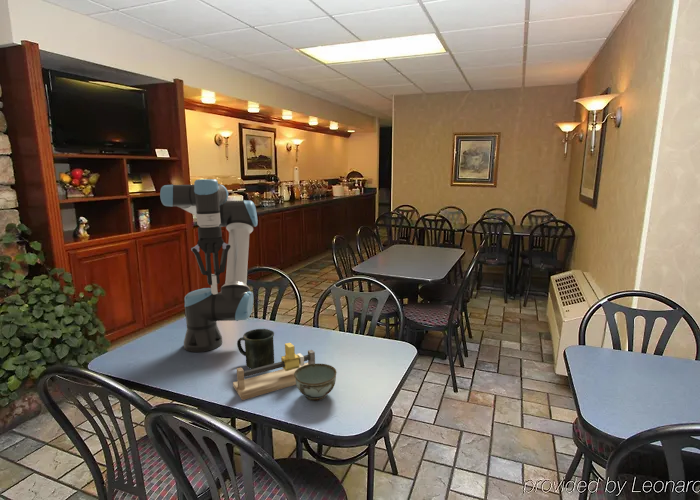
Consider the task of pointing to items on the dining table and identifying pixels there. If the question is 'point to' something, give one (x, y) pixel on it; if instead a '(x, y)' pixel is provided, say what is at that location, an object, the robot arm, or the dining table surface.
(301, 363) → the band
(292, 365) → the sleeve
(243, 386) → the wooden slider rail
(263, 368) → the rod
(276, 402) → the dining table surface
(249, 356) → the mug
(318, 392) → the bowl
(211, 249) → the robot arm
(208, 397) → the dining table surface
